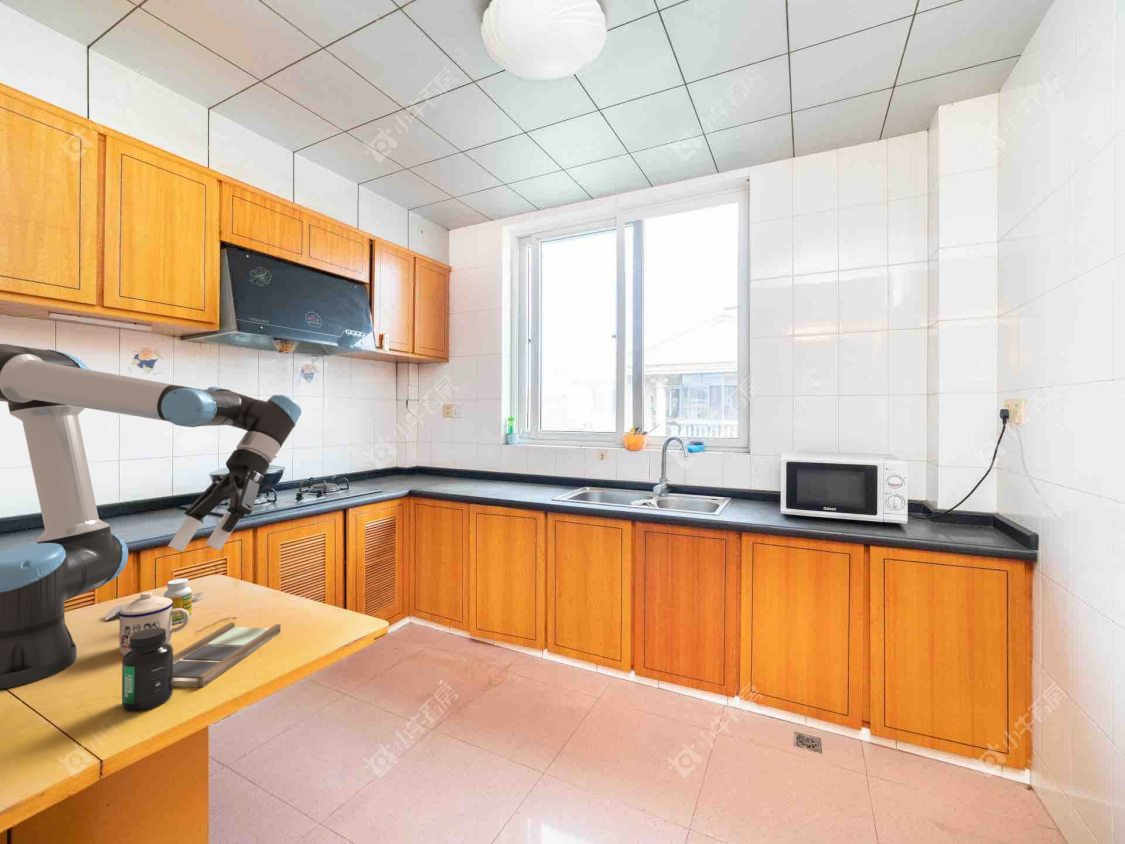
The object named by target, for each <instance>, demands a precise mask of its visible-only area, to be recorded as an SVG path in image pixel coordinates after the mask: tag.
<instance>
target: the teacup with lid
mask: <svg viewBox="0 0 1125 844" xmlns="http://www.w3.org/2000/svg"><path fill="white" fill-rule="evenodd" d="M123 605H124V606H123V607H121V608H120V610H119V612H118V616H119V653H120V654H121V655H122V656H125V655H126V654H127V653H128V652H129V651H130V650H131V649H130V648H129V645H130V637H131V636H132V635H133V634H135V633H137V632H140V631H143V630H147V629H152V628H164V629H165V630H166V641H165V643H168V644H170V645H171V643H172V640H173V633H177V632H180V631H181V630H183V629H184V628H186V626H187V624H188V622H189V620H190V619H189V613H188V611H187V610H185V609H182V608H177V609H172V605H173V602H172V600H171V599H170V598H166V597H164V596H158V595H153V592H152V591H146V592H141V593H140V597H139V598H136V599H134V600H133V601H132V602H131V601H130V602H129V603H126V604H123ZM172 613H182V614H184V615H185V621H184V622H182V624H181V625H180V626H177V627H173V624H172Z"/></svg>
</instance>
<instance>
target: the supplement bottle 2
mask: <svg viewBox="0 0 1125 844" xmlns="http://www.w3.org/2000/svg"><path fill="white" fill-rule="evenodd" d="M188 585H189V579H188V578H175V579H172V580H169V581H168V582H167V586H166V588H167V590H166V591H165V592H164V594H163V597H166V598H170V599H171V600H172V602H173V605H172V609H177V608H182V609H185V610H187V611H188V613H189V620H190V619H191V618H192V608H193V607H192V605H193V604H192V595H193V594H192V593H193V592H192V591H193V590H192V588H191V587H189V586H188ZM183 621H185V615H184V614H182V613H172V625H175V624H174V623H176V624H180V623H179V622H181V623H184V622H183Z"/></svg>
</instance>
